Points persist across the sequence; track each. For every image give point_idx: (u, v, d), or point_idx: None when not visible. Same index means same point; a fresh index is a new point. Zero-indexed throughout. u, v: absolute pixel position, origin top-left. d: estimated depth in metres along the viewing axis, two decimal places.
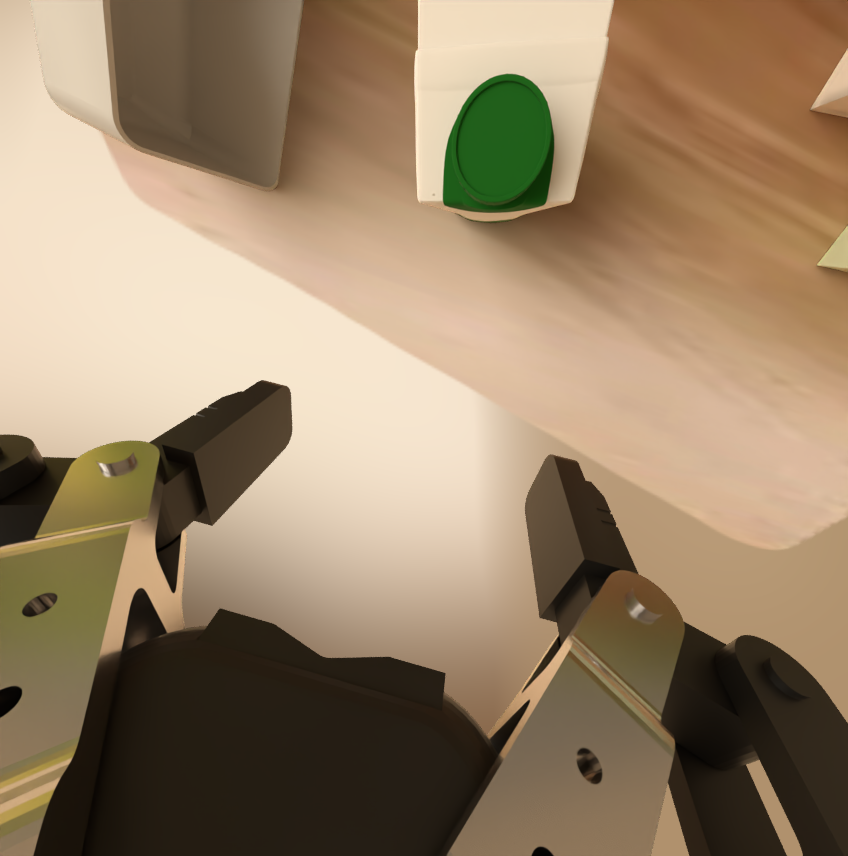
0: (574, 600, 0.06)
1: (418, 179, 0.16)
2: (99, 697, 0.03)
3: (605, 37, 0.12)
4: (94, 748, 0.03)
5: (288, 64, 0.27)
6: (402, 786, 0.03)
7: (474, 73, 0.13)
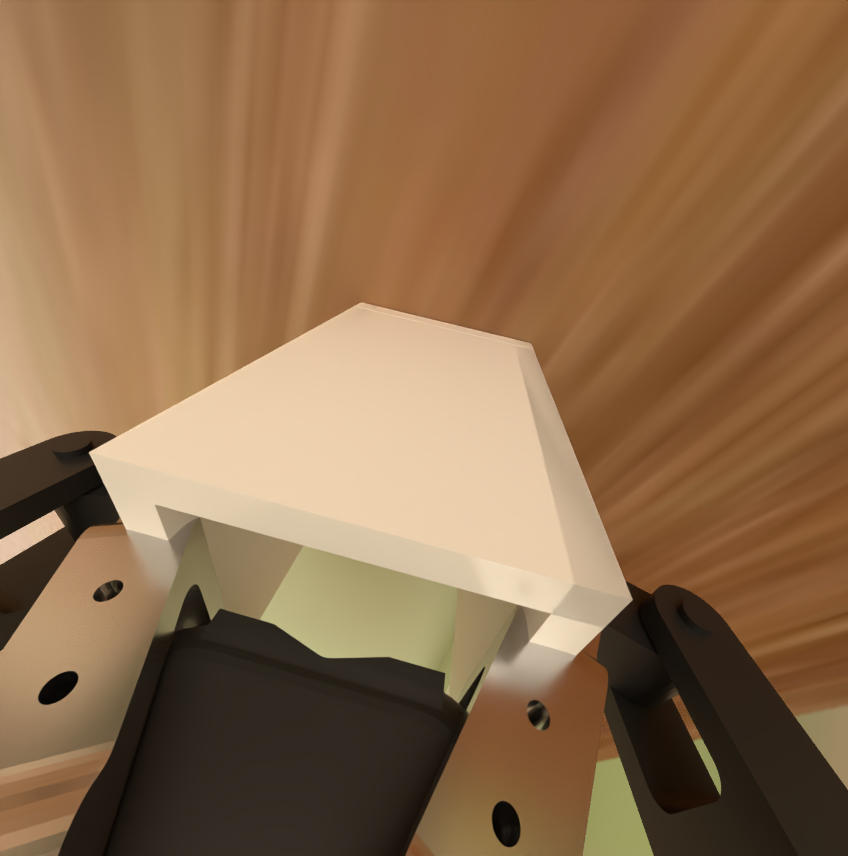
0: None
1: None
2: (140, 699, 0.03)
3: None
4: (127, 754, 0.03)
5: None
6: (402, 786, 0.03)
7: None
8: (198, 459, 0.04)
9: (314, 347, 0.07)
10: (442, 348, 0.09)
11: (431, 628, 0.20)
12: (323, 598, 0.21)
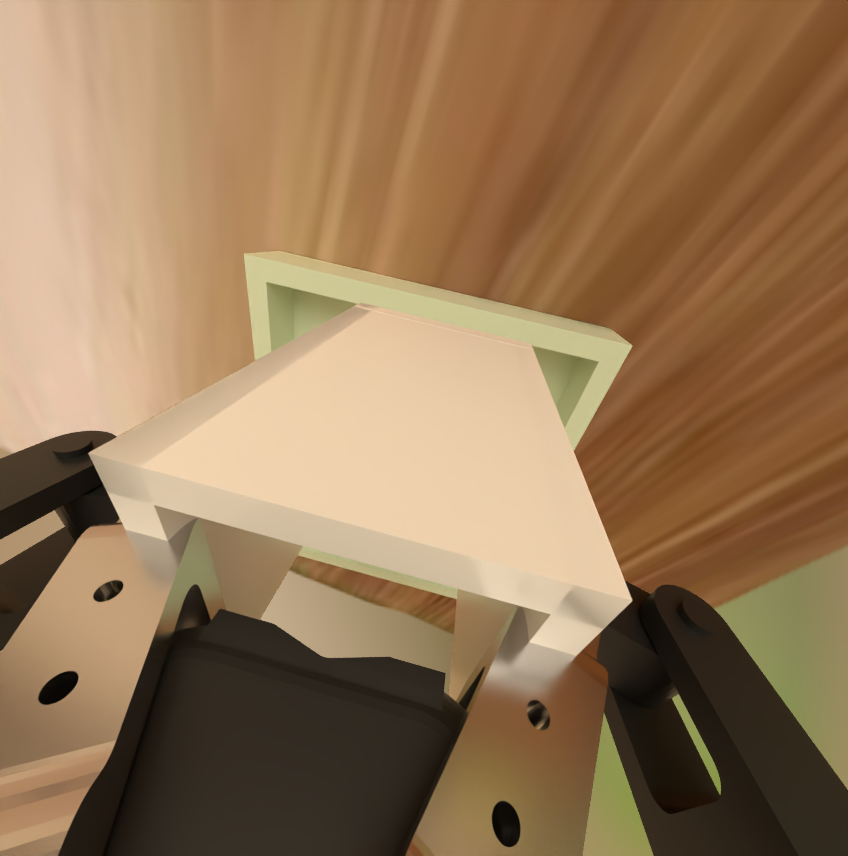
0: None
1: None
2: (141, 699, 0.03)
3: None
4: (128, 752, 0.03)
5: None
6: (402, 786, 0.03)
7: None
8: (198, 460, 0.04)
9: (314, 347, 0.07)
10: (441, 348, 0.09)
11: None
12: None
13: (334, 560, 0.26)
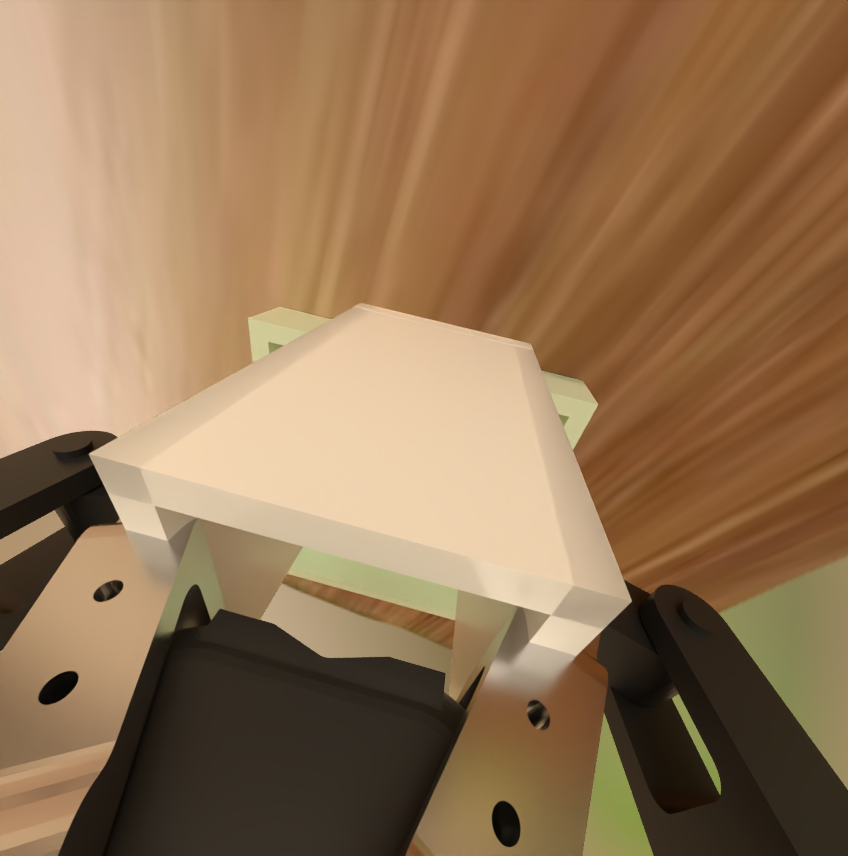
0: None
1: None
2: (140, 699, 0.03)
3: None
4: (127, 754, 0.03)
5: None
6: (402, 786, 0.03)
7: None
8: (198, 461, 0.04)
9: (314, 348, 0.07)
10: (442, 349, 0.09)
11: None
12: None
13: (331, 581, 0.27)
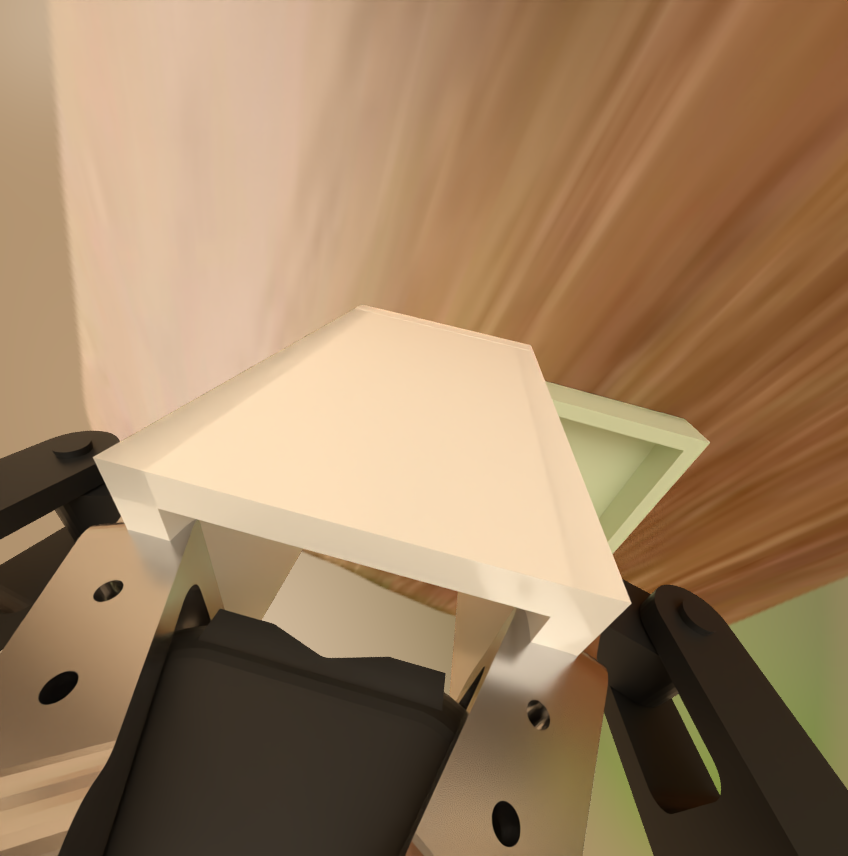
0: None
1: None
2: (142, 698, 0.03)
3: None
4: (128, 752, 0.03)
5: None
6: (402, 786, 0.03)
7: None
8: (201, 464, 0.04)
9: (315, 350, 0.07)
10: (442, 351, 0.09)
11: None
12: None
13: None
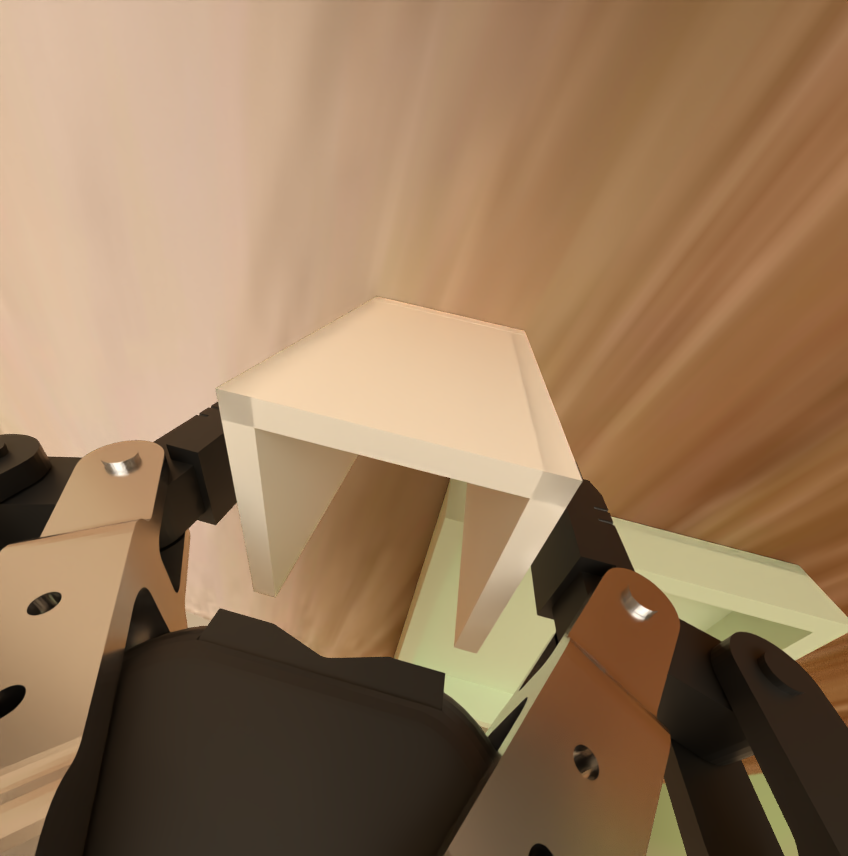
0: (571, 597, 0.06)
1: None
2: (103, 696, 0.03)
3: None
4: (95, 749, 0.03)
5: None
6: (402, 786, 0.03)
7: None
8: (286, 395, 0.05)
9: (346, 329, 0.09)
10: (448, 333, 0.10)
11: None
12: (533, 626, 0.22)
13: None
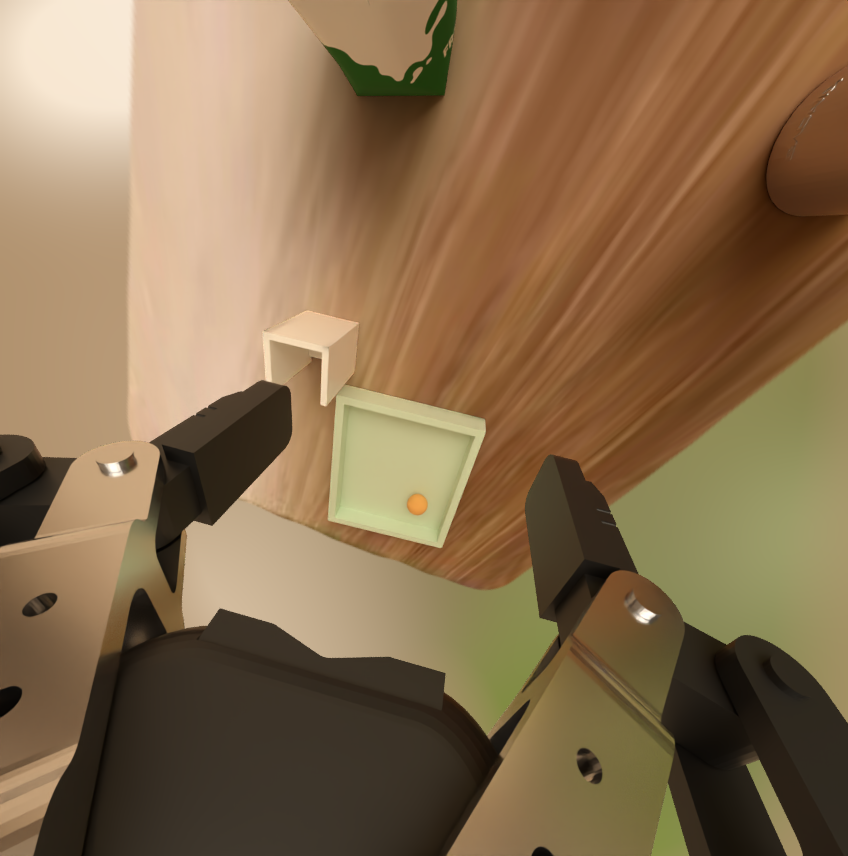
0: (574, 600, 0.06)
1: None
2: (100, 698, 0.03)
3: None
4: (94, 749, 0.03)
5: None
6: (402, 786, 0.03)
7: None
8: (275, 333, 0.28)
9: (291, 321, 0.32)
10: (325, 323, 0.33)
11: (444, 478, 0.45)
12: (395, 466, 0.45)
13: (360, 525, 0.49)
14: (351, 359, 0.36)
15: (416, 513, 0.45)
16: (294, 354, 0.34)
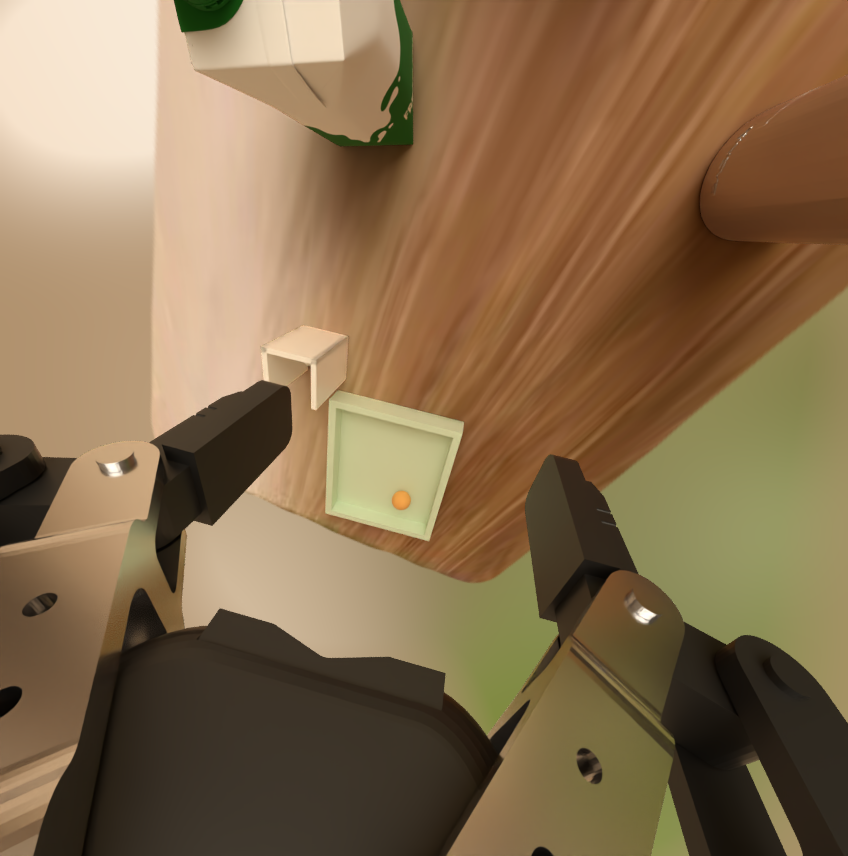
0: (574, 600, 0.06)
1: None
2: (100, 698, 0.03)
3: (291, 61, 0.15)
4: (93, 749, 0.03)
5: None
6: (402, 786, 0.03)
7: None
8: (271, 347, 0.33)
9: (287, 336, 0.36)
10: (317, 336, 0.38)
11: (429, 476, 0.49)
12: (384, 464, 0.49)
13: (355, 518, 0.53)
14: (341, 368, 0.41)
15: (396, 508, 0.50)
16: (291, 364, 0.39)
